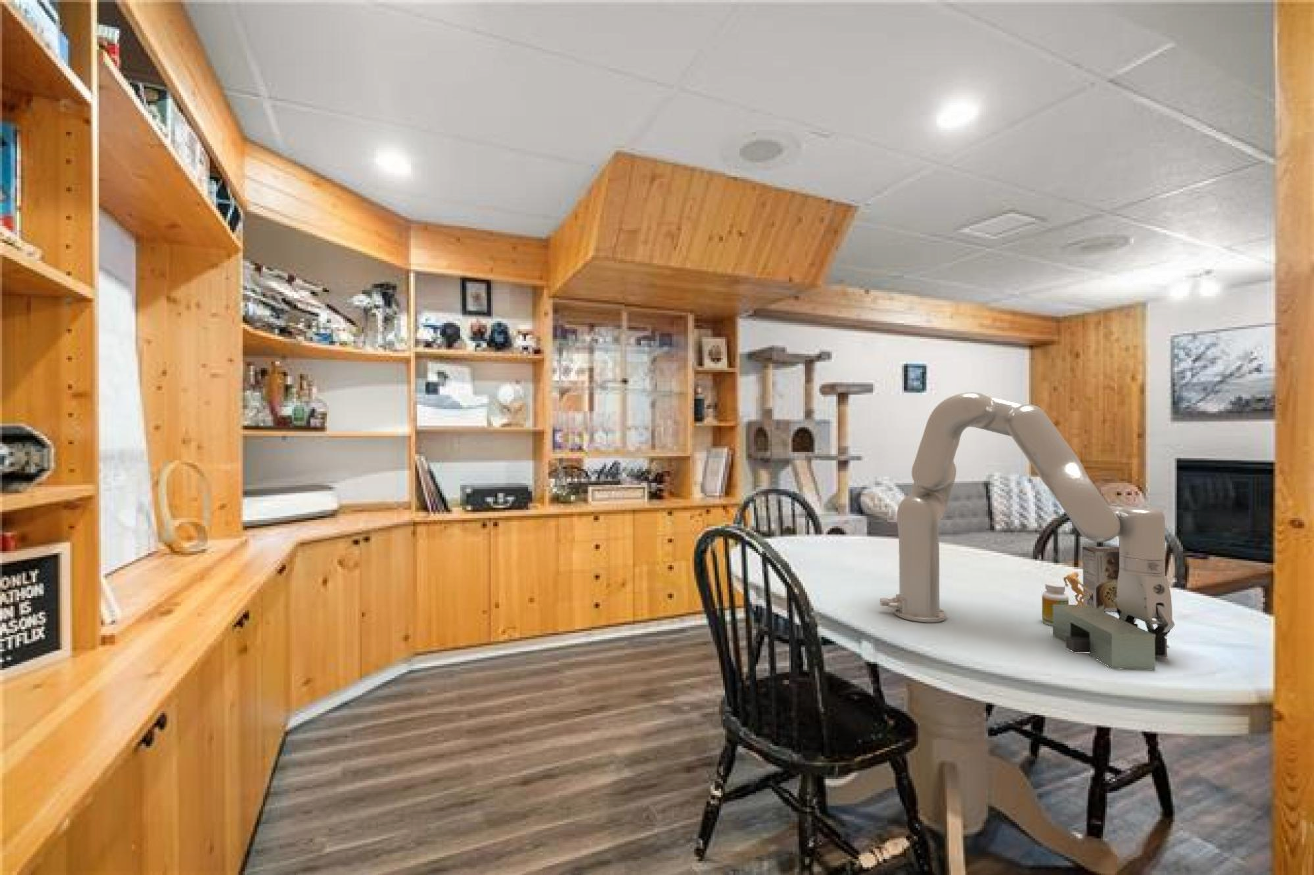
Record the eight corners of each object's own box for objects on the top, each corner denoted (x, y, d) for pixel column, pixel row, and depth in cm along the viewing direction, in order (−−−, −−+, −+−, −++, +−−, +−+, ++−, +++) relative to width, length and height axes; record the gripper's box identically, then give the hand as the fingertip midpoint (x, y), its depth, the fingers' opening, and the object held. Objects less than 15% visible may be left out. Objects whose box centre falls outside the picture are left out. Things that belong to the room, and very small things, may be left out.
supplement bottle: (1060, 628, 138) (1060, 588, 138) (1037, 622, 143) (1037, 583, 143) (1073, 625, 141) (1073, 585, 141) (1049, 618, 146) (1049, 580, 146)
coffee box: (1118, 605, 156) (1118, 546, 156) (1134, 613, 150) (1134, 551, 150) (1081, 604, 158) (1081, 545, 158) (1095, 611, 151) (1095, 550, 151)
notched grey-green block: (1111, 668, 115) (1111, 633, 115) (1052, 634, 134) (1052, 604, 134) (1155, 670, 114) (1154, 634, 114) (1089, 635, 134) (1089, 605, 134)
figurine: (1104, 624, 141) (1103, 575, 141) (1079, 624, 141) (1079, 576, 141) (1079, 614, 149) (1079, 568, 149) (1056, 614, 149) (1055, 568, 149)
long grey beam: (1076, 654, 122) (1076, 635, 122) (1064, 646, 127) (1064, 628, 127) (1172, 657, 120) (1172, 638, 120) (1156, 649, 125) (1156, 631, 125)
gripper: (1194, 575, 114) (1194, 664, 114) (1131, 557, 131) (1131, 634, 132) (1153, 574, 115) (1154, 663, 115) (1096, 556, 132) (1096, 633, 132)
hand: (1142, 647), depth 123 cm, fingers open, 6 cm apart
